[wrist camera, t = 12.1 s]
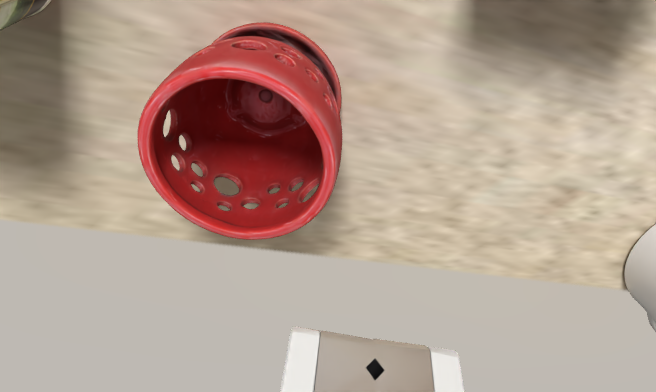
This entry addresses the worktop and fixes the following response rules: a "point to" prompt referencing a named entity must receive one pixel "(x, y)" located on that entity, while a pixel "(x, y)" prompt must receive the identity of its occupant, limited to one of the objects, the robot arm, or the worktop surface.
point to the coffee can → (19, 10)
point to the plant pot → (247, 132)
